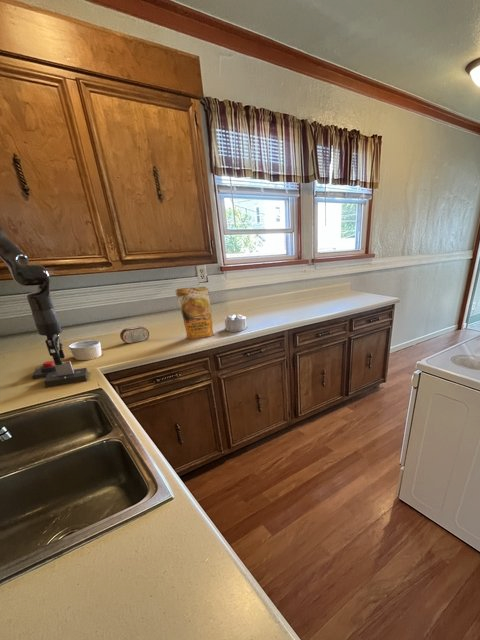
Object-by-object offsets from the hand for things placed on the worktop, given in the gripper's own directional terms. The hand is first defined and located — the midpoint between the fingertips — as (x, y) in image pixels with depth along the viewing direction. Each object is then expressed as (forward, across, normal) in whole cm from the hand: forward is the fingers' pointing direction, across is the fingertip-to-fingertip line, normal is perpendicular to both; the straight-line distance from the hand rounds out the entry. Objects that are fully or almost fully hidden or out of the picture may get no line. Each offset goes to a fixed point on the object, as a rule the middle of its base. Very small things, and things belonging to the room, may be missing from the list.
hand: (60, 361), depth 131 cm
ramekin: (+9, +30, -6) cm, 32 cm away
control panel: (+9, 0, 0) cm, 9 cm away
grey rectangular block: (+6, 0, 0) cm, 6 cm away
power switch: (+9, +12, +7) cm, 17 cm away
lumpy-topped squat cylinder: (+8, +49, -88) cm, 101 cm away
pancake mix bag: (+8, +42, -63) cm, 76 cm away
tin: (+8, +48, -29) cm, 57 cm away
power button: (+5, +12, +7) cm, 15 cm away
